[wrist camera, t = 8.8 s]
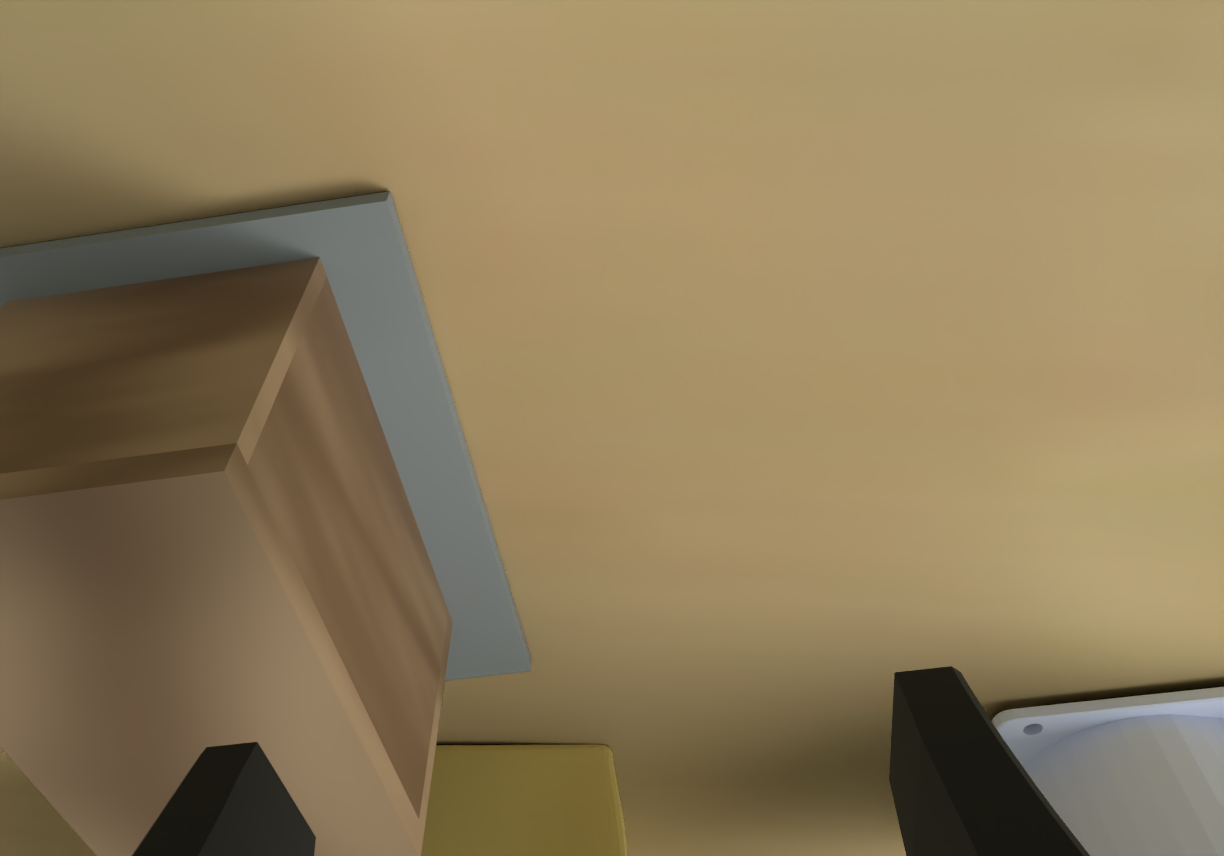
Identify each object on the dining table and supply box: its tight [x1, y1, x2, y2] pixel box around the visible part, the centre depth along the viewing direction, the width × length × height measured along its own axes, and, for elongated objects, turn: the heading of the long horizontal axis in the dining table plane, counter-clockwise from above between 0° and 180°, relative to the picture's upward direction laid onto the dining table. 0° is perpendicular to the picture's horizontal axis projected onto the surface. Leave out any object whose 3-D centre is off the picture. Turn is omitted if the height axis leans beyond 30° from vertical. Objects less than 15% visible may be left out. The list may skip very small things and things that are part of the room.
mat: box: [0, 191, 531, 681], centre depth 22 cm, size 9×13×1 cm
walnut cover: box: [0, 257, 453, 856], centre depth 19 cm, size 6×10×6 cm, turn 8°
